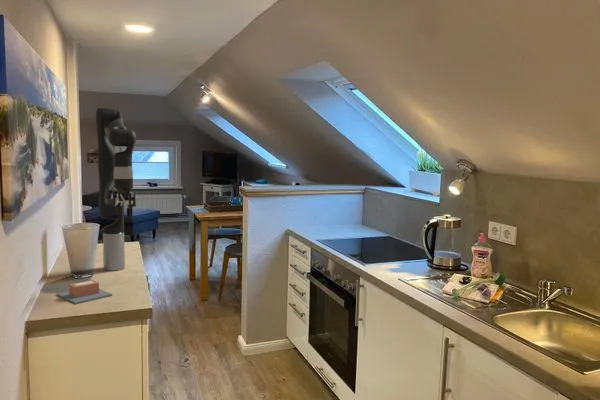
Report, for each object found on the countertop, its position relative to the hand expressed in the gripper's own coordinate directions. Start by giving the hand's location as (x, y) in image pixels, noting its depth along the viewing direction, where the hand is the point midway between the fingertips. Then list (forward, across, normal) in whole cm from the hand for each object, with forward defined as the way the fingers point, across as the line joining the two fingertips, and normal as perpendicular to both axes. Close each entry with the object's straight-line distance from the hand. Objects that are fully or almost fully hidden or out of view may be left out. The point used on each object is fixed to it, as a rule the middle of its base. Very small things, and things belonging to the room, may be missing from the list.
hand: (124, 215), depth 197 cm
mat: (+28, -7, +21) cm, 36 cm away
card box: (+28, -7, +21) cm, 35 cm away
